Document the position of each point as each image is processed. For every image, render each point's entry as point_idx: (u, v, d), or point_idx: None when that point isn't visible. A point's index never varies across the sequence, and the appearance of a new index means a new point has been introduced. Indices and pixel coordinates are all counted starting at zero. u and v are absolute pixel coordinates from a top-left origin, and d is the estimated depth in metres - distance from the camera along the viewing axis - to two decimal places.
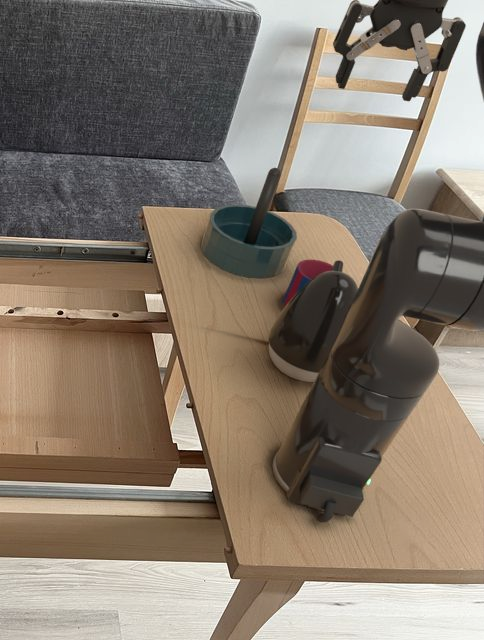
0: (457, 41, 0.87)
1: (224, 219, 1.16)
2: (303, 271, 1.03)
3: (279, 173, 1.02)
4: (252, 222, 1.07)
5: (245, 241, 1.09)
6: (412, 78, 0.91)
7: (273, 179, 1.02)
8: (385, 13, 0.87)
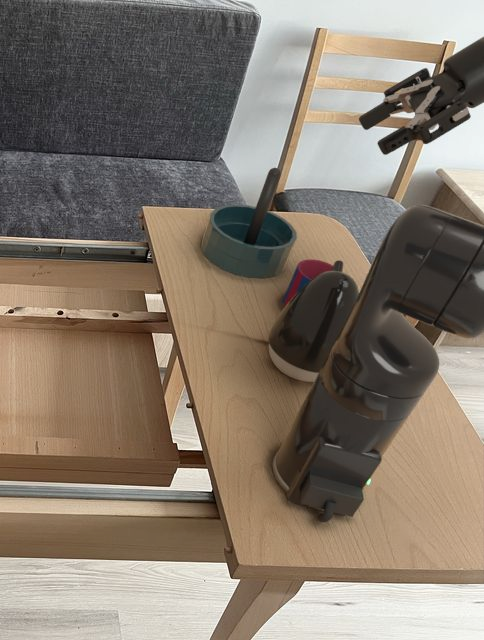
0: (447, 112, 0.88)
1: (224, 219, 1.16)
2: (303, 271, 1.03)
3: (279, 173, 1.02)
4: (252, 222, 1.07)
5: (245, 241, 1.09)
6: None
7: (273, 179, 1.02)
8: (433, 79, 0.95)
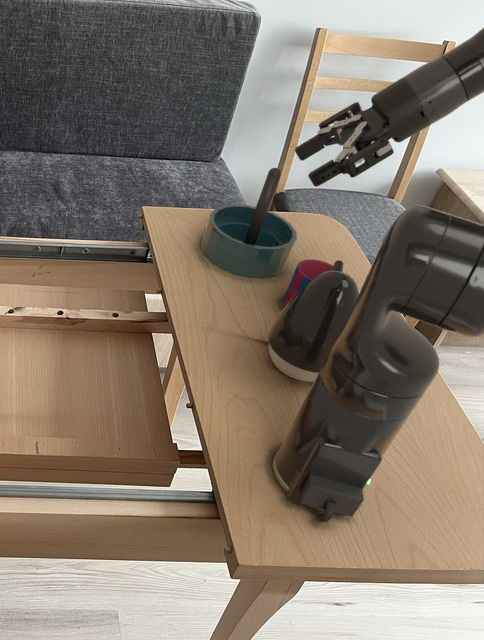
0: (371, 148, 0.92)
1: (224, 219, 1.16)
2: (303, 271, 1.03)
3: (279, 173, 1.02)
4: (252, 222, 1.07)
5: (245, 241, 1.09)
6: None
7: (273, 179, 1.02)
8: (362, 114, 0.98)
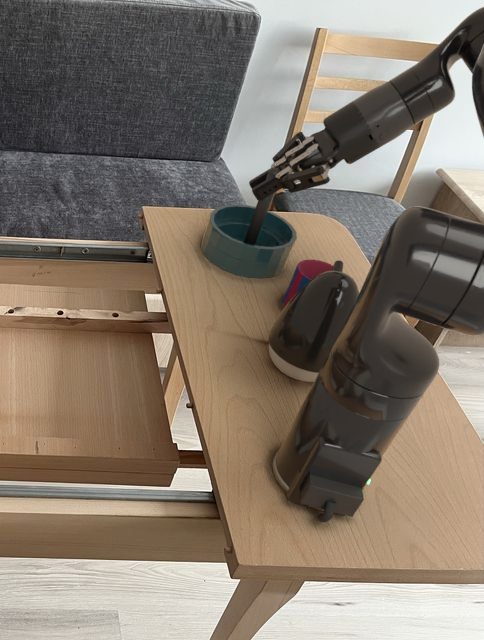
0: (306, 173, 0.96)
1: (224, 219, 1.16)
2: (303, 271, 1.03)
3: None
4: (252, 222, 1.07)
5: (245, 241, 1.09)
6: None
7: None
8: (316, 135, 1.01)
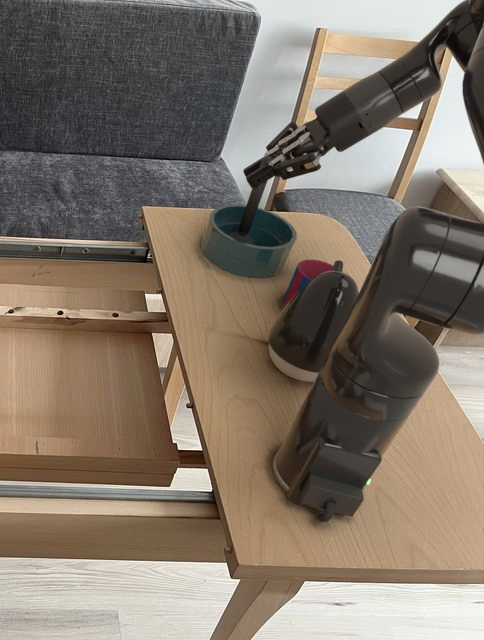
0: (298, 160, 0.99)
1: (224, 219, 1.16)
2: (303, 271, 1.03)
3: None
4: (246, 209, 1.10)
5: (240, 228, 1.12)
6: None
7: None
8: (308, 124, 1.04)
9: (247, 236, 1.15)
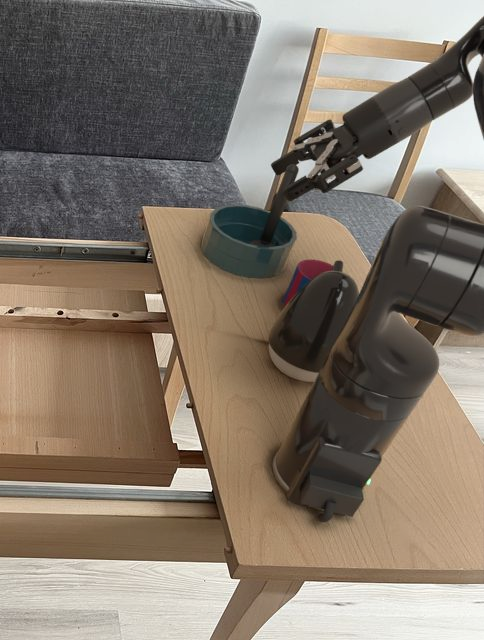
0: (341, 165, 0.96)
1: (224, 219, 1.16)
2: (303, 271, 1.03)
3: (297, 169, 1.03)
4: (269, 218, 1.09)
5: (262, 237, 1.11)
6: None
7: (291, 175, 1.04)
8: (334, 131, 1.02)
9: (269, 245, 1.13)
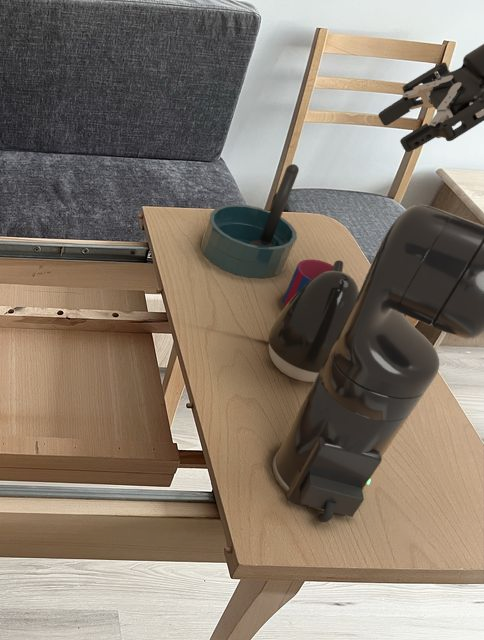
0: (470, 110, 0.89)
1: (224, 219, 1.16)
2: (303, 271, 1.03)
3: (297, 169, 1.03)
4: (269, 218, 1.09)
5: (262, 237, 1.11)
6: None
7: (291, 175, 1.04)
8: (452, 74, 0.96)
9: (269, 245, 1.13)
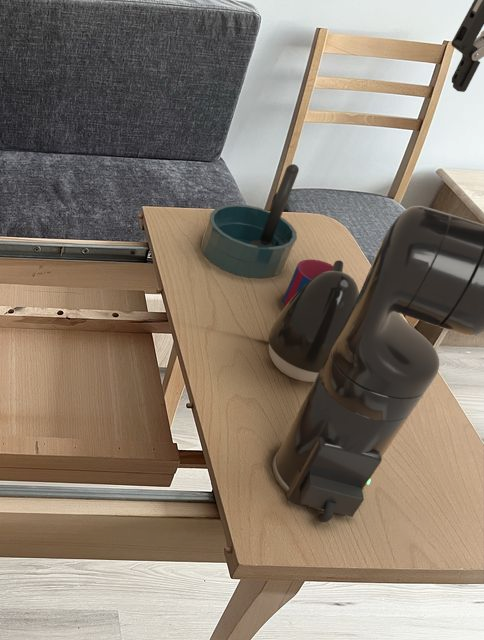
0: None
1: (224, 219, 1.16)
2: (303, 271, 1.03)
3: (297, 169, 1.03)
4: (269, 218, 1.09)
5: (262, 237, 1.11)
6: None
7: (291, 175, 1.04)
8: None
9: (269, 245, 1.13)
